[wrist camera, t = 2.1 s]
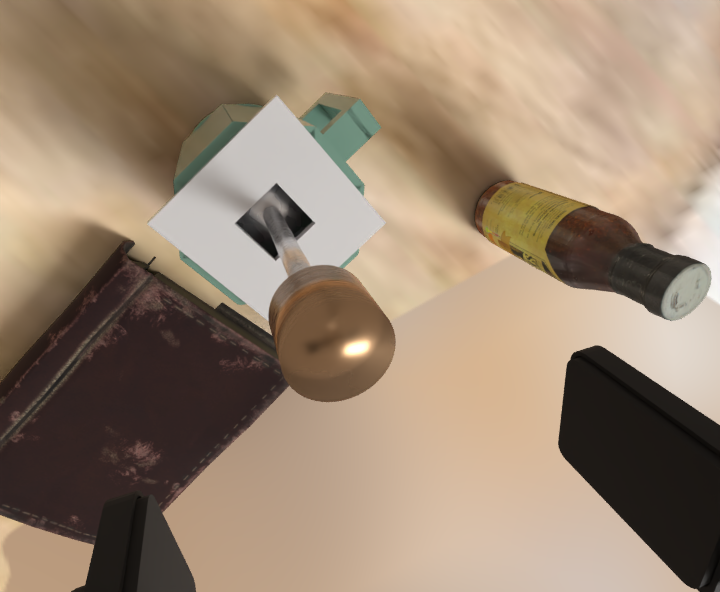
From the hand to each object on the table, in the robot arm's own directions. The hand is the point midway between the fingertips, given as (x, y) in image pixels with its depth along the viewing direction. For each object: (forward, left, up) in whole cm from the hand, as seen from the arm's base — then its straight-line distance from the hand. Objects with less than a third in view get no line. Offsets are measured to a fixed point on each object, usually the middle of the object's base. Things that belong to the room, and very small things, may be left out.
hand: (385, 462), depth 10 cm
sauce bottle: (+8, +23, -31) cm, 40 cm away
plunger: (0, 0, -19) cm, 19 cm away
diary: (+18, -15, -32) cm, 39 cm away
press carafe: (-1, +1, -31) cm, 31 cm away
